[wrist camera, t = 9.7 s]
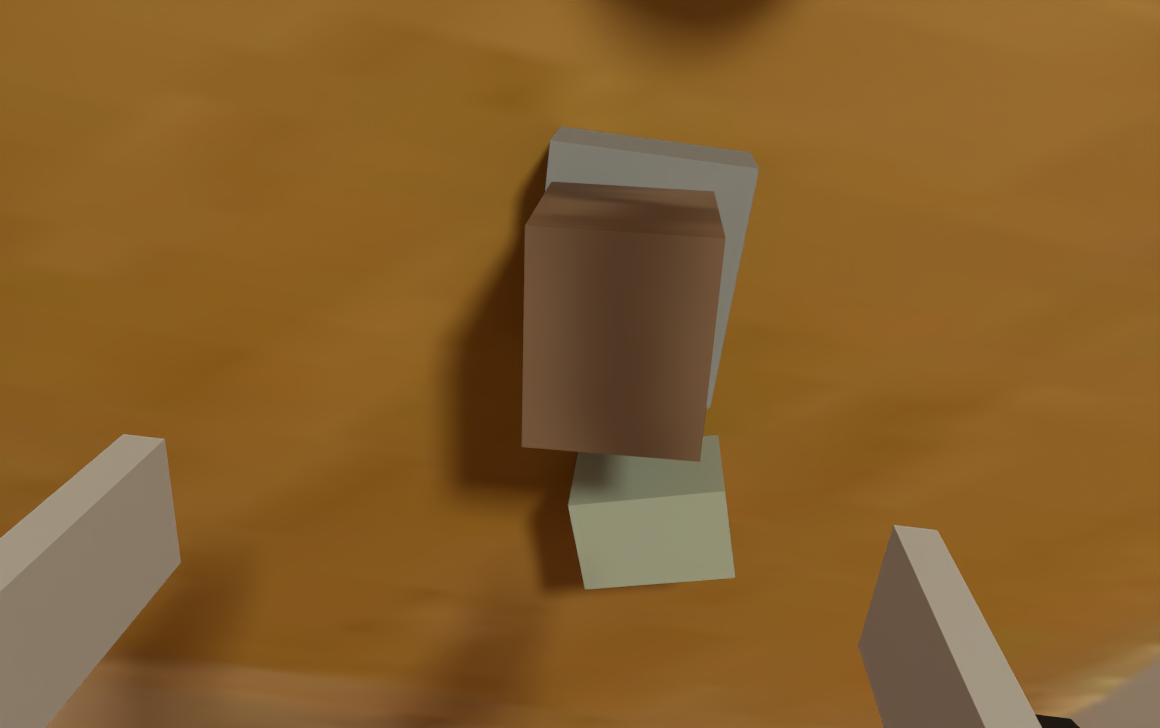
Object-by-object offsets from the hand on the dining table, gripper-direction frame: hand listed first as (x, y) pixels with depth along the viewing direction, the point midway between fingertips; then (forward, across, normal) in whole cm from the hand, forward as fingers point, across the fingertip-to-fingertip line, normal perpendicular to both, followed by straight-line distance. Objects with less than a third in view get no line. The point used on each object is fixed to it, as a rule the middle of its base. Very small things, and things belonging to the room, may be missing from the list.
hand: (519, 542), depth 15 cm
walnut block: (+16, +2, 0) cm, 16 cm away
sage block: (+19, +4, -10) cm, 22 cm away
